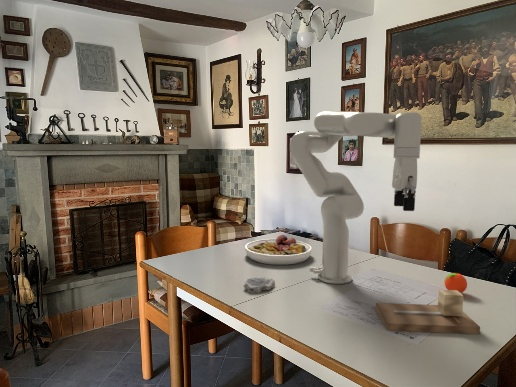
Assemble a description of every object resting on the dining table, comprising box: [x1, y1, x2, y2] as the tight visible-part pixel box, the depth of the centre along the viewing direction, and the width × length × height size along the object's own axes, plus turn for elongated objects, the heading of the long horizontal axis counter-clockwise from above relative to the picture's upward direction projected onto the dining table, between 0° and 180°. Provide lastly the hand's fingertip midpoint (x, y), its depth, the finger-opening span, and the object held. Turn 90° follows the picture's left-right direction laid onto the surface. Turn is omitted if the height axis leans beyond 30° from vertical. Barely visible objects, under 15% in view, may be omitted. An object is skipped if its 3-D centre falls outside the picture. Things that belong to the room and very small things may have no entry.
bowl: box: [244, 234, 313, 266], centre depth 174 cm, size 30×30×8 cm
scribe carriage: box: [437, 289, 464, 316], centre depth 108 cm, size 6×4×6 cm
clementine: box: [444, 272, 468, 294], centre depth 131 cm, size 8×7×7 cm
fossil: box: [243, 276, 276, 294], centre depth 135 cm, size 11×4×10 cm
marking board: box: [375, 302, 481, 335], centre depth 109 cm, size 24×14×2 cm, turn 86°
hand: (403, 208), depth 120 cm, fingers open, 9 cm apart
